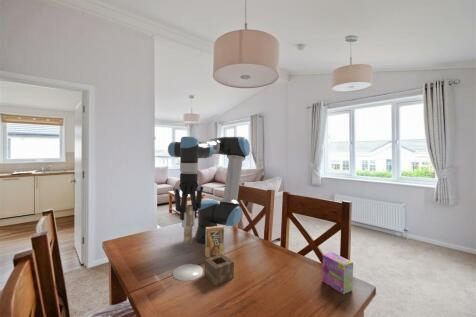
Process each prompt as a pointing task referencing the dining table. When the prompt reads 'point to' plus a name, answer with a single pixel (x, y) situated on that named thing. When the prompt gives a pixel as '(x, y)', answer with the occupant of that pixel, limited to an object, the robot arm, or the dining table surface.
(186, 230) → the dowel
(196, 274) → the white plate
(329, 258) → the box
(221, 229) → the candy box
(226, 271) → the pen pot
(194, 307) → the dining table surface
